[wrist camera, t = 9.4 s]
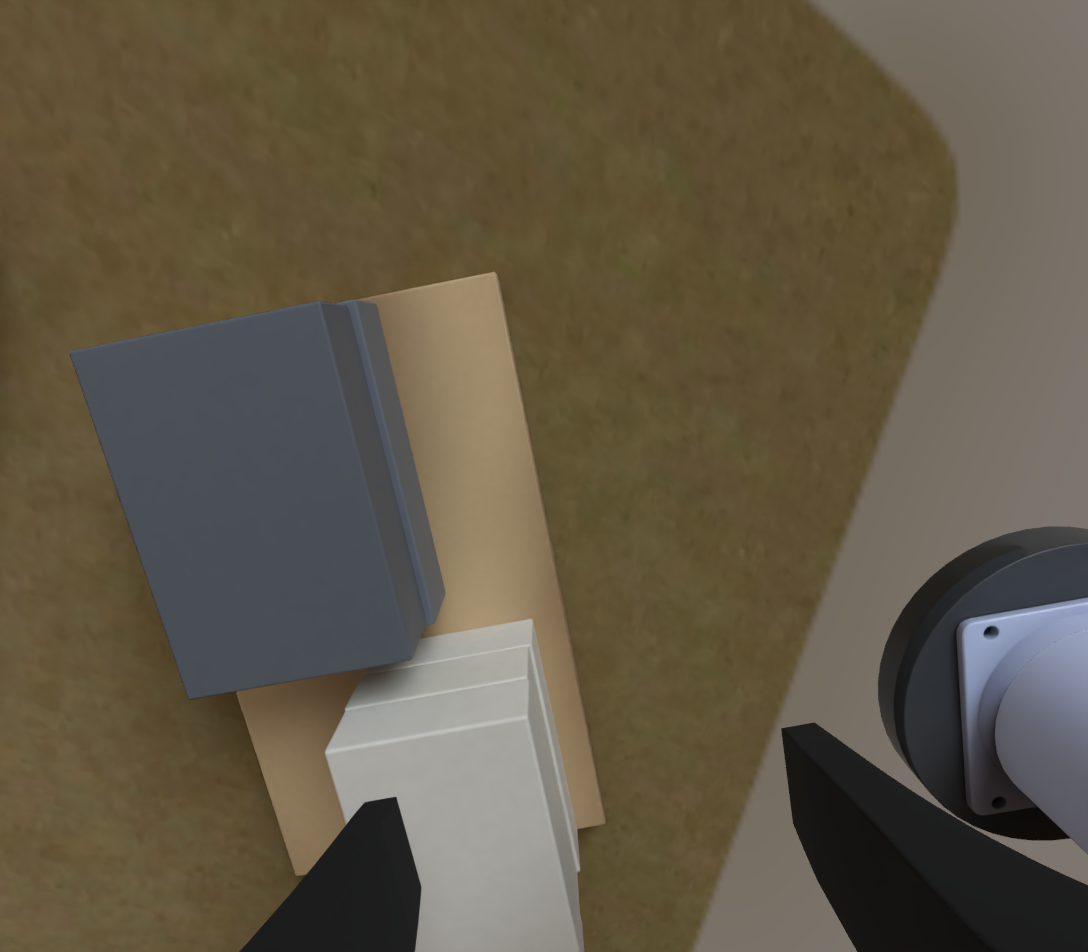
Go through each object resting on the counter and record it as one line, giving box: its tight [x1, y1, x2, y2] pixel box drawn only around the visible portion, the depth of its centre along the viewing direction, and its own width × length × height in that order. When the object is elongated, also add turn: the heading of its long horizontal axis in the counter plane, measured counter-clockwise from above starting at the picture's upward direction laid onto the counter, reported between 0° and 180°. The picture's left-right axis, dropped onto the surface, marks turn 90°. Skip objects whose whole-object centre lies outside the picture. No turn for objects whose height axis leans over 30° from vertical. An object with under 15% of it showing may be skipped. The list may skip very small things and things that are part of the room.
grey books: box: [70, 300, 446, 700], centre depth 17 cm, size 6×9×4 cm, turn 11°
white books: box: [344, 619, 580, 912], centre depth 20 cm, size 5×8×4 cm, turn 11°
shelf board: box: [236, 272, 606, 876], centre depth 21 cm, size 11×18×1 cm, turn 11°
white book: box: [325, 679, 584, 952], centre depth 17 cm, size 5×8×2 cm, turn 11°
